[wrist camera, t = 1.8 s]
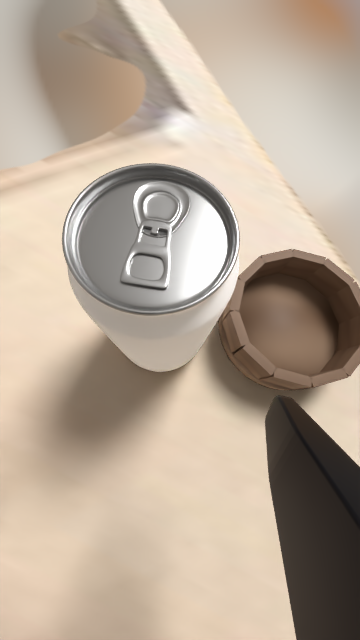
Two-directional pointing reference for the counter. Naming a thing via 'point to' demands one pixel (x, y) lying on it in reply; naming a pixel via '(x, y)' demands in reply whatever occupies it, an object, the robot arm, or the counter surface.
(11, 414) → the counter surface
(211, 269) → the can
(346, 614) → the robot arm
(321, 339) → the holder
